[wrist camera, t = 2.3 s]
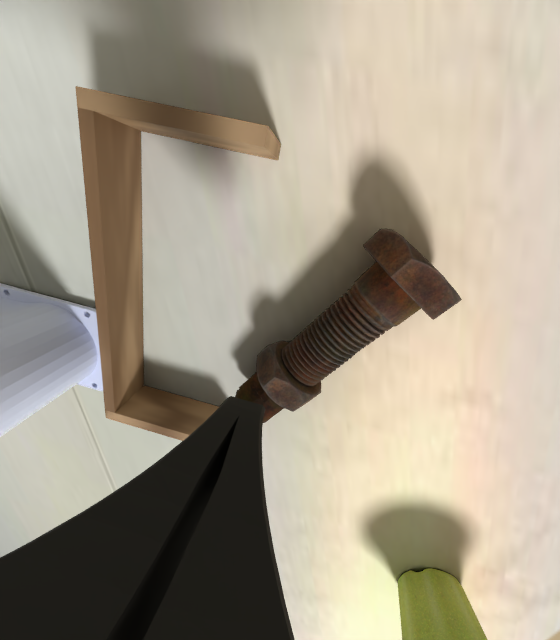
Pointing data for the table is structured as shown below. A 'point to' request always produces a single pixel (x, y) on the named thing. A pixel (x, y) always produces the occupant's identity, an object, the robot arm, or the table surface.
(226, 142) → the frame
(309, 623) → the table surface
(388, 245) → the bolt
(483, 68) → the table surface
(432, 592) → the plant pot
